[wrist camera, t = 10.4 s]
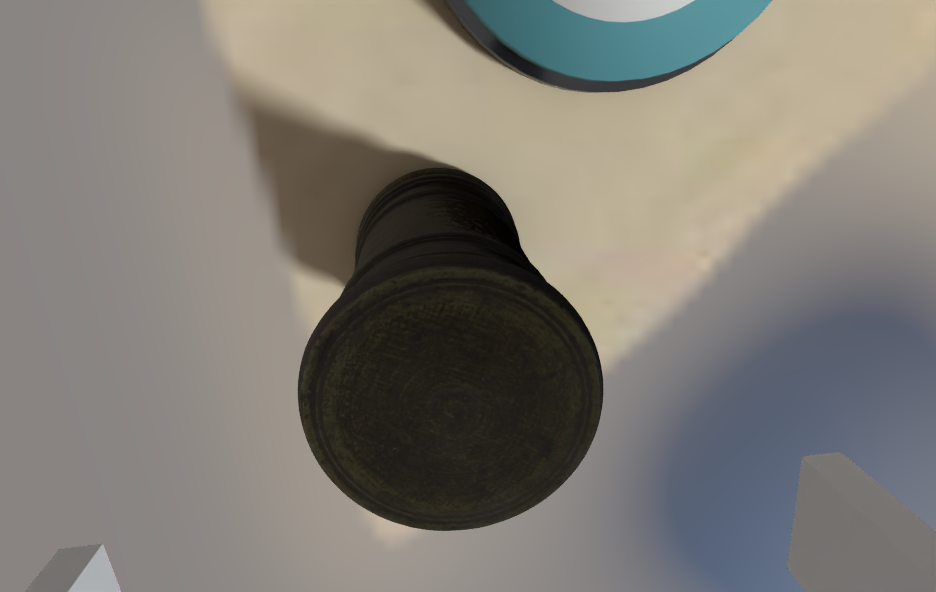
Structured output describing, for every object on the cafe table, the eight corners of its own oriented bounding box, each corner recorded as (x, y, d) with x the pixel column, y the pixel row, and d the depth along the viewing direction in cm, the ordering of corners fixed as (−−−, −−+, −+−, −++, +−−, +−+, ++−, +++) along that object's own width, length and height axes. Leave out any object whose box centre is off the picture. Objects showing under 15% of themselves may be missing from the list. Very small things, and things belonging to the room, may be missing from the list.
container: (361, 320, 33) (298, 554, 16) (354, 165, 30) (266, 252, 13) (511, 318, 34) (602, 541, 17) (519, 167, 31) (638, 252, 14)
